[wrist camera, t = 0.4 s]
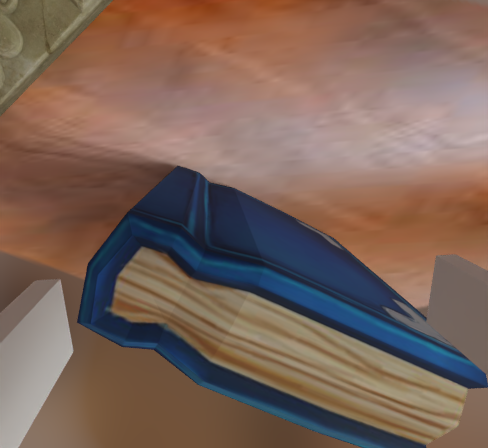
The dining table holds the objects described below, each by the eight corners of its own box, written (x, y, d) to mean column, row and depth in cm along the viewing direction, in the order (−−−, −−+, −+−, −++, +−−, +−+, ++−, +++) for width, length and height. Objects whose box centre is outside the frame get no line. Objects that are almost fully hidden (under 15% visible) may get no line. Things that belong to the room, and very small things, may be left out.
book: (143, 211, 38) (43, 350, 14) (169, 154, 37) (108, 201, 13) (305, 284, 43) (433, 480, 19) (334, 236, 42) (510, 381, 18)
